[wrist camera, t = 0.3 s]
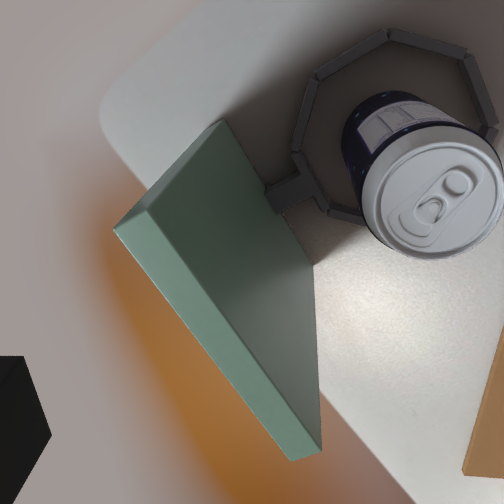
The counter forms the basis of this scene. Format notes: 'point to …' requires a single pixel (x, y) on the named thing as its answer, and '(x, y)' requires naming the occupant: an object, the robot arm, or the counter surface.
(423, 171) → the beverage can
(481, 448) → the cork mat
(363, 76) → the counter surface
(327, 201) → the green panel with ring
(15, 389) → the robot arm
